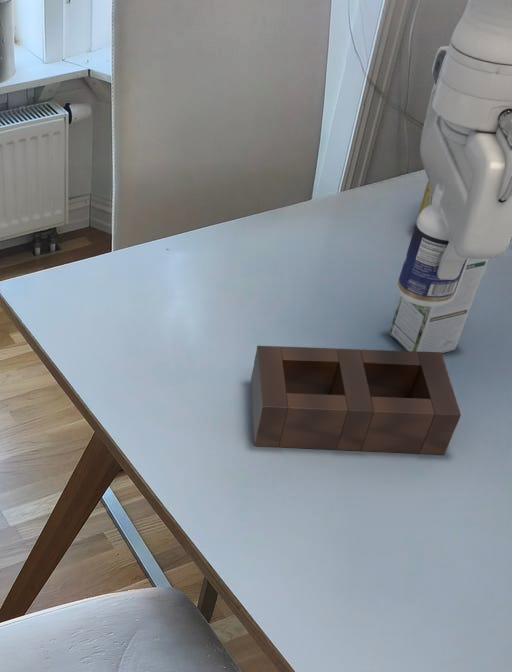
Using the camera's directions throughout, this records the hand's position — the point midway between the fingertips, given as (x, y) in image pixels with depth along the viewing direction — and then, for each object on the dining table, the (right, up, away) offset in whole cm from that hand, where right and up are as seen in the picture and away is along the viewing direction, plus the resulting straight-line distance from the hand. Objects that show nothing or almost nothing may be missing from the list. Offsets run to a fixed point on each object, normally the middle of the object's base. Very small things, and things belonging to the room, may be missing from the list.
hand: (438, 256), depth 80 cm
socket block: (-4, -11, +14) cm, 19 cm away
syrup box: (+9, 0, +23) cm, 25 cm away
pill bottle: (0, -2, +3) cm, 4 cm away
